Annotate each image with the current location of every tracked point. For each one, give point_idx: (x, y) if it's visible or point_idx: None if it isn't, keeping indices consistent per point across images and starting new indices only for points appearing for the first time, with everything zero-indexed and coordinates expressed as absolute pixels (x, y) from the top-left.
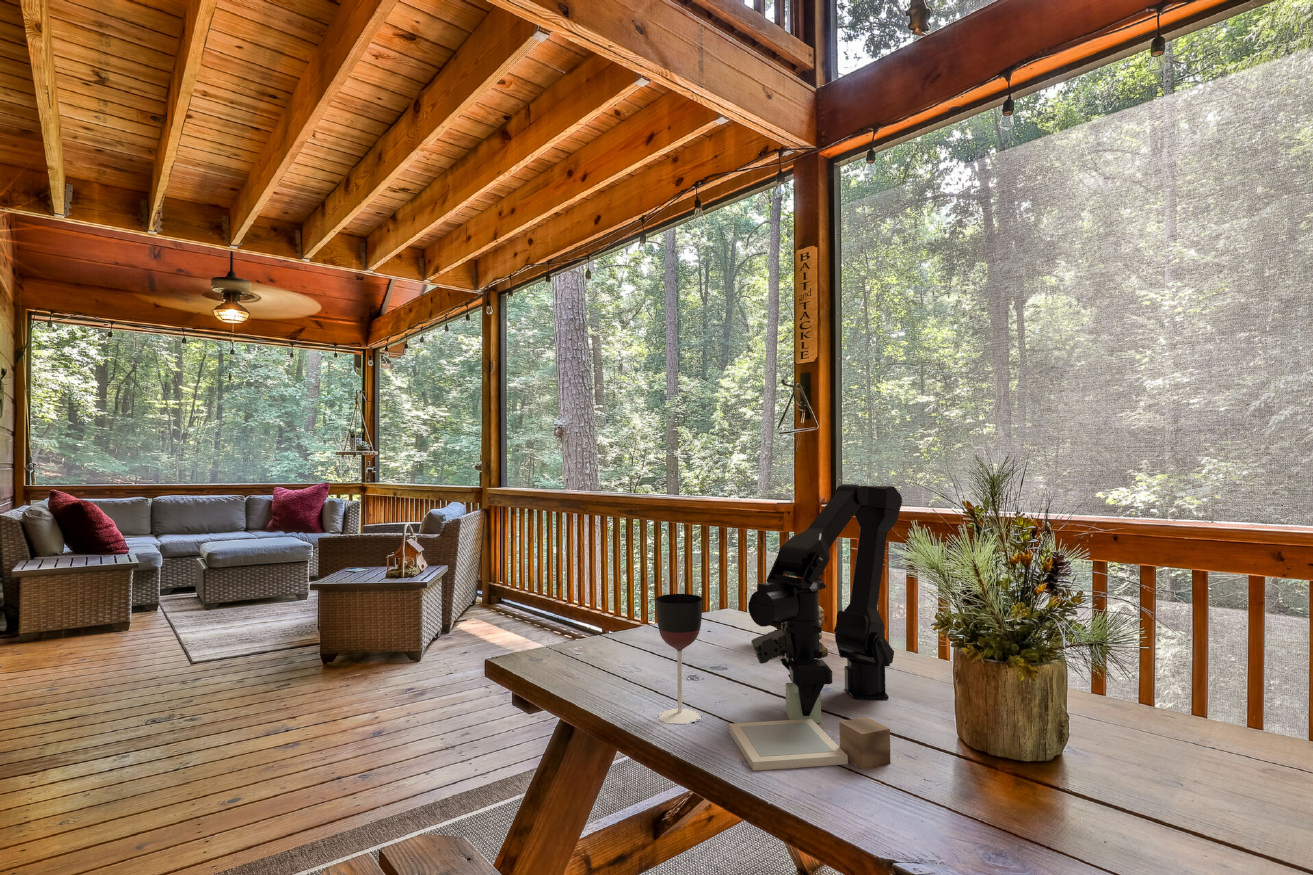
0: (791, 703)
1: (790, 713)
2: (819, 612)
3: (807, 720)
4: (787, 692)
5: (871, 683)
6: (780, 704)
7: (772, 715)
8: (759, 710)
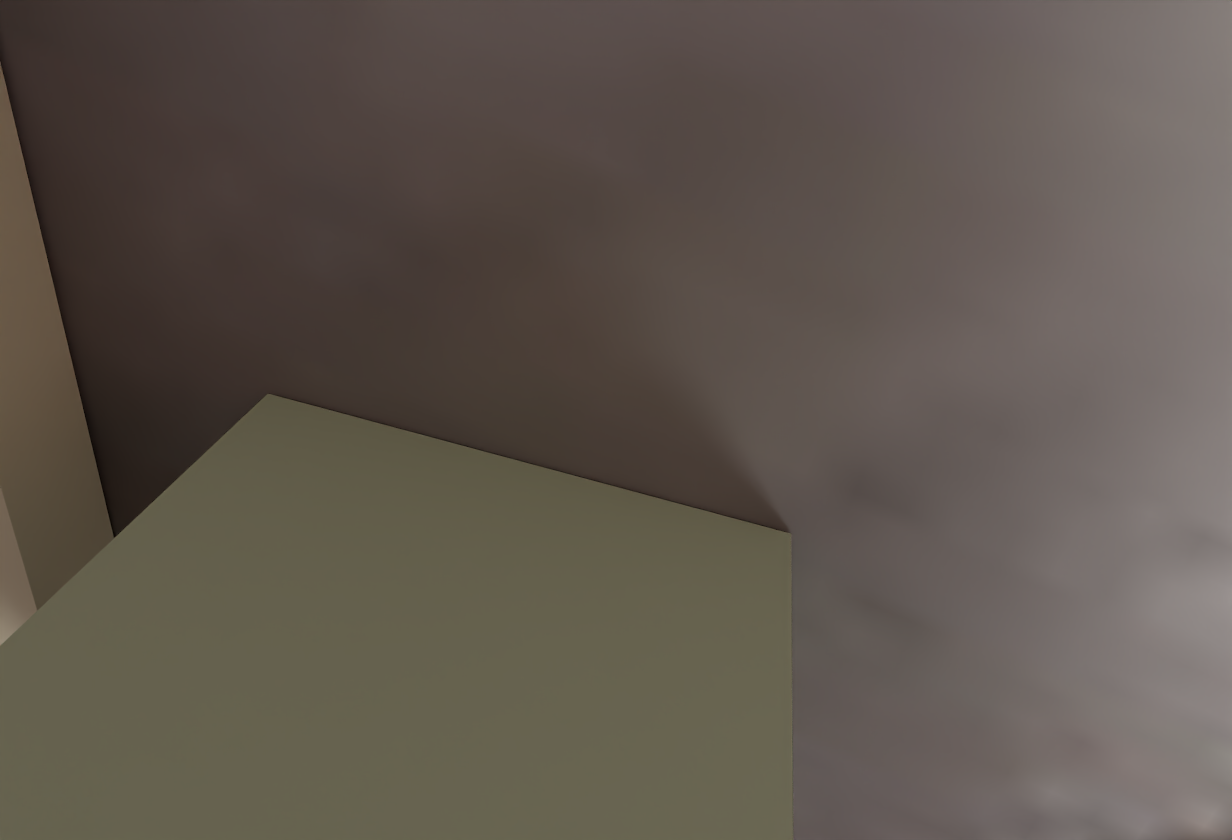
0: (32, 624)
1: (209, 480)
2: None
3: None
4: (472, 836)
5: None
6: (1209, 602)
7: (686, 218)
8: (1075, 32)
